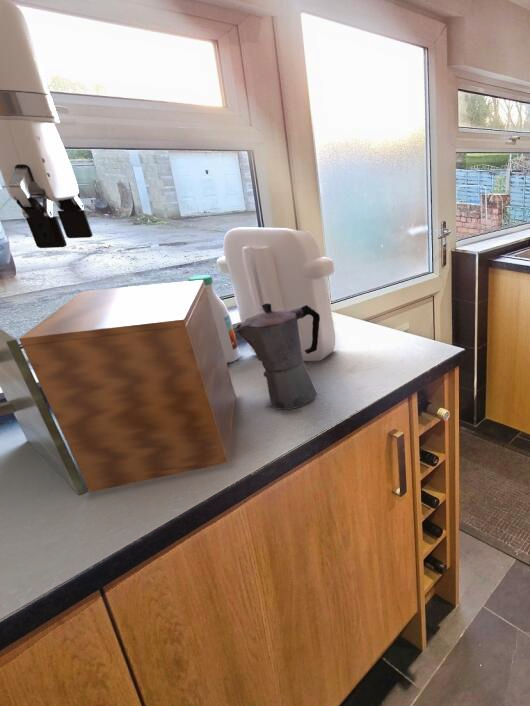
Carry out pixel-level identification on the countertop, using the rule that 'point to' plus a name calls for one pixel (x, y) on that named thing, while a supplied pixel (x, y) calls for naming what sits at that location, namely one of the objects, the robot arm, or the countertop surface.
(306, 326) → the toaster
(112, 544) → the countertop surface
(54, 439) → the cupboard door
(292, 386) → the moka pot
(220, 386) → the cupboard
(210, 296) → the milk bottle
